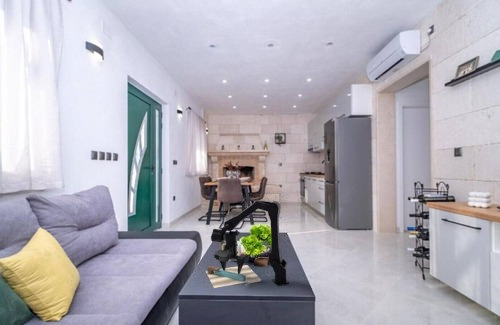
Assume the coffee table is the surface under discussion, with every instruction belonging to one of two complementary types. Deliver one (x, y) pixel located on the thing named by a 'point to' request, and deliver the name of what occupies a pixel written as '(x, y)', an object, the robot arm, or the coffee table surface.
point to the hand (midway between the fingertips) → (231, 272)
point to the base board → (225, 281)
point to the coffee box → (223, 248)
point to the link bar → (230, 275)
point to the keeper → (212, 269)
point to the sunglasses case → (261, 262)
